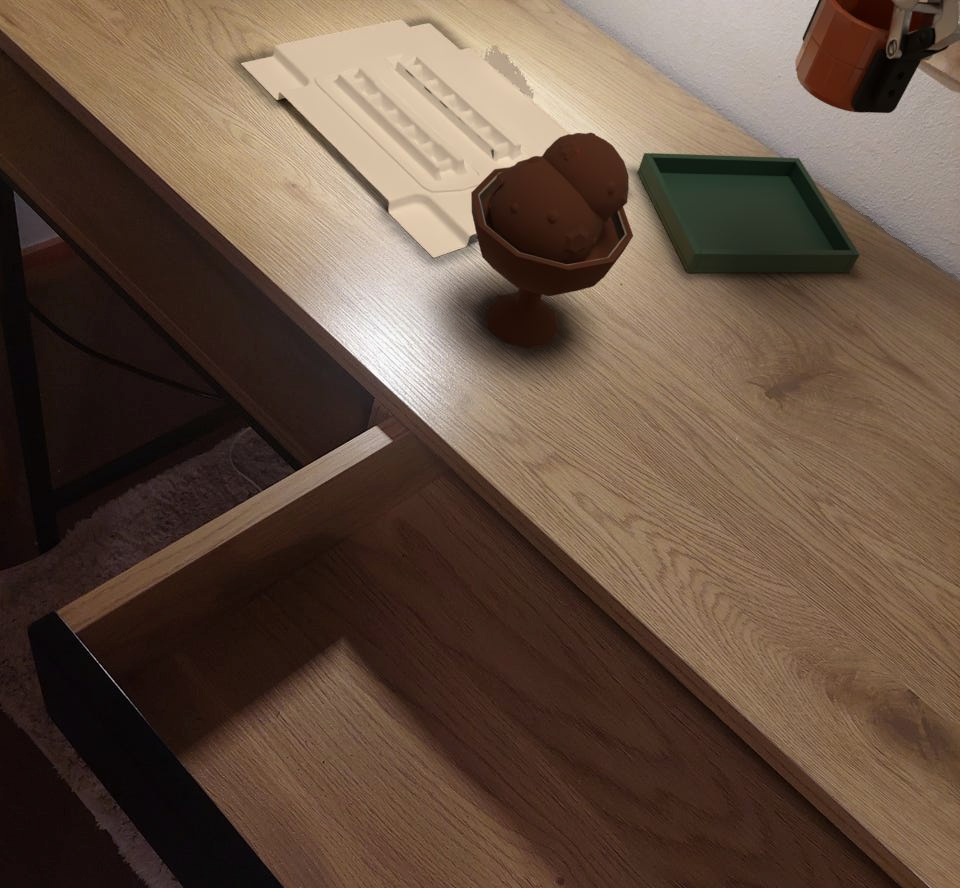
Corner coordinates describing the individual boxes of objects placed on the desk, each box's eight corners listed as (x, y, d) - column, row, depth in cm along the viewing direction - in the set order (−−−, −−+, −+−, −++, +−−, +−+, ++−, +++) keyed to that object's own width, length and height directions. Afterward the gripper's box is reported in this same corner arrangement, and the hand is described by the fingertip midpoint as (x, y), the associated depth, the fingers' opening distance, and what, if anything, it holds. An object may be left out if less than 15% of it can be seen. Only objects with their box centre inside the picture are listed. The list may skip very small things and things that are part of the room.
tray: (434, 259, 81) (441, 216, 78) (238, 75, 92) (238, 32, 89) (624, 192, 91) (636, 152, 88) (426, 33, 102) (431, -7, 99)
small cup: (862, 59, 76) (899, -19, 72) (906, 116, 73) (949, 38, 68) (776, 55, 74) (810, -25, 70) (817, 114, 71) (856, 33, 66)
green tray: (790, 176, 97) (799, 157, 96) (849, 272, 90) (860, 254, 88) (637, 171, 93) (644, 152, 91) (686, 272, 86) (695, 253, 84)
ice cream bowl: (518, 254, 83) (566, 72, 71) (622, 338, 79) (692, 162, 68) (418, 304, 77) (452, 115, 66) (526, 397, 74) (583, 216, 62)
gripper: (1134, -149, 55) (951, 154, 69) (970, -280, 65) (838, 11, 79) (1017, -164, 53) (853, 152, 67) (865, -297, 62) (749, 6, 76)
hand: (846, 74), depth 73 cm, fingers closed on small cup, 7 cm apart
